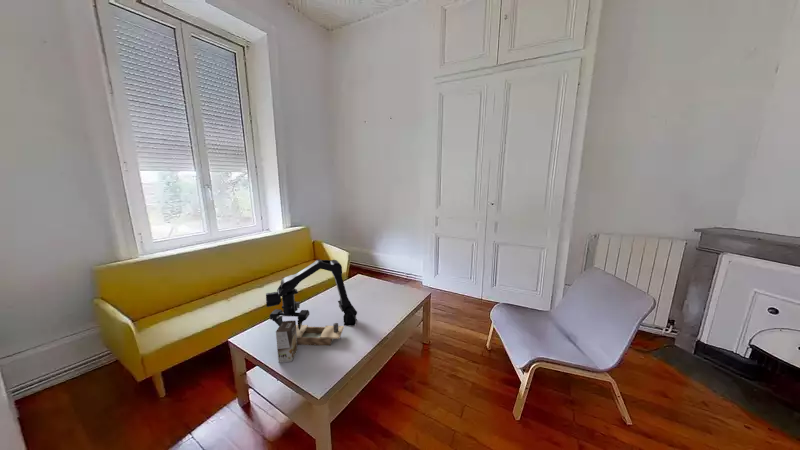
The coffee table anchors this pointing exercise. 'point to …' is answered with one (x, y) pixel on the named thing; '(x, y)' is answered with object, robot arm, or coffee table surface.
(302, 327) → the lid
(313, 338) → the walnut box
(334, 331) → the lid
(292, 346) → the coffee box
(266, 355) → the coffee table surface
